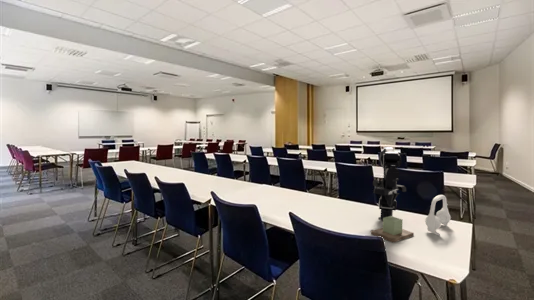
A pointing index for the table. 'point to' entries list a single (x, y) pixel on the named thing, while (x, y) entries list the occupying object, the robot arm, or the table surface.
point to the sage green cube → (392, 225)
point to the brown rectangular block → (391, 237)
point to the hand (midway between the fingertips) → (389, 206)
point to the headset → (438, 215)
